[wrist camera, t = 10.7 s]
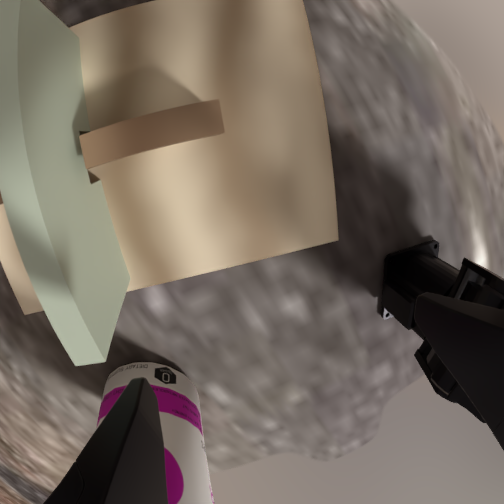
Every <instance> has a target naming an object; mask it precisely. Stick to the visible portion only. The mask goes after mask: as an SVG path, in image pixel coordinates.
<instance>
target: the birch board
mask: <svg viewBox="0 0 504 504" xmlns="http://www.w3.org/2000/svg"><path fill="white" fill-rule="evenodd" d="M69 29H70V30H71V31H72V32H73V33H75V34H76V35H77V36H78V37H79V43H80V57H81V68H82V77H83V86H84V93H85V101H86V107H87V114H88V120H89V126H90V131H94V130H97V129H100V128H103V127H106V126H109V125H112V124H115V123H118V122H122V121H125V120H128V119H132V118H135V117H139V116H143V115H146V114H150V113H154V112H158V111H162V110H166V109H170V108H175V107H179V106H184V105H189V104H194V103H199V102H204V101H209V100H215V99H219V101H220V107H221V113H222V118H223V124H224V129H225V133H223V134H219V135H216V136H211V137H206V138H201V139H196V140H191V141H187V142H183V143H178V144H174V145H170V146H166V147H162V148H158V149H154V150H150V151H146V152H143V153H139V154H135V155H132V156H128V157H125V158H122V159H118V160H115V161H112V162H109V163H105V164H102V165H99V166H96V167H93V168H90V169H87V171H88V175H89V179H90V183H93V182H96V181H99V180H101V182H102V186H103V190H104V194H105V198H106V202H107V205H108V209H109V213H110V216H111V219H112V223H113V226H114V230H115V233H116V236H117V239H118V242H119V246H120V249H121V252H122V255H123V258H124V261H125V264H126V266H127V269H128V272H129V275H130V278H131V279H130V282H129V285H128V288H127V291H126V292H128V291H132V290H136V289H140V288H145V287H149V286H153V285H157V284H162V283H166V282H170V281H174V280H179V279H183V278H187V277H191V276H195V275H200V274H204V273H208V272H212V271H216V270H220V269H224V268H229V267H233V266H237V265H241V264H245V263H249V262H253V261H257V260H261V259H265V258H269V257H274V256H278V255H282V254H286V253H290V252H294V251H298V250H302V249H306V248H310V247H314V246H318V245H322V244H326V243H330V242H334V241H338V240H339V239H338V222H337V208H336V196H335V185H334V175H333V165H332V156H331V148H330V140H329V132H328V125H327V118H326V112H325V105H324V99H323V93H322V87H321V82H320V76H319V71H318V65H317V60H316V55H315V51H314V46H313V41H312V37H311V32H310V28H309V24H308V20H307V16H306V12H305V8H304V4H303V0H155V1H150V2H146V3H142V4H138V5H134V6H130V7H127V8H123V9H120V10H116V11H113V12H110V13H107V14H104V15H101V16H98V17H95V18H92V19H90V20H87V21H84V22H82V23H79V24H77V25H74V26H72V27H69ZM0 261H1V263H2V266H3V269H4V271H5V273H6V276H7V278H8V281H9V283H10V285H11V287H12V290H13V292H14V294H15V296H16V298H17V300H18V302H19V305H20V307H21V309H22V311H23V313H24V315H27V314H31V313H36V312H40V311H44V309H43V307H42V305H41V303H40V301H39V299H38V297H37V295H36V292H35V290H34V288H33V286H32V283H31V281H30V279H29V276H28V274H27V272H26V269H25V267H24V264H23V262H22V259H21V256H20V254H19V251H18V248H17V245H16V243H15V240H14V237H13V234H12V231H11V228H10V224H9V221H8V218H7V214H6V211H5V207H4V204H1V205H0Z"/></svg>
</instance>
